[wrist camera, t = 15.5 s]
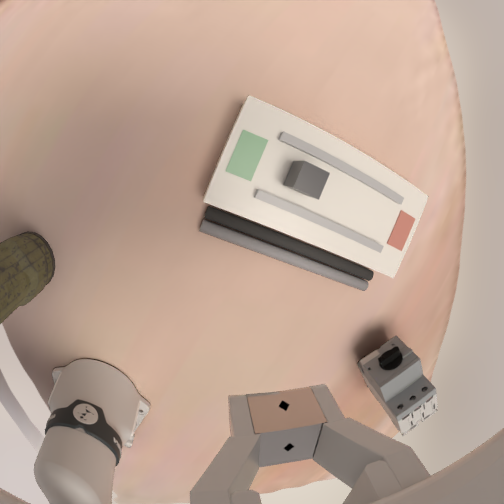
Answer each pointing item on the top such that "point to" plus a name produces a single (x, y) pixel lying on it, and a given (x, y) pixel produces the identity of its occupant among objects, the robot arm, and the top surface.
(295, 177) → the breaker toggle
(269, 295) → the top surface
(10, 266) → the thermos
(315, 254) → the long gray rail
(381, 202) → the white slider track board
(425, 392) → the circuit breaker
